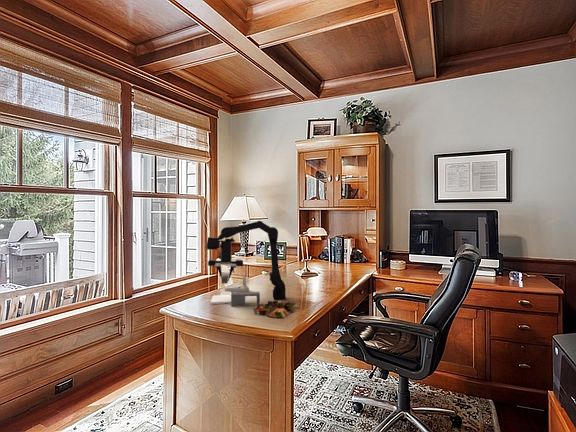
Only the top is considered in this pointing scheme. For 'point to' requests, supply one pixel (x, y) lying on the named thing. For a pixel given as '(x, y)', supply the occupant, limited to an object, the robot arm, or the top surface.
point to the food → (275, 309)
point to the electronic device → (238, 287)
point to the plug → (225, 277)
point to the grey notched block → (243, 298)
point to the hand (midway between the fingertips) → (225, 278)
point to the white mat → (221, 299)
